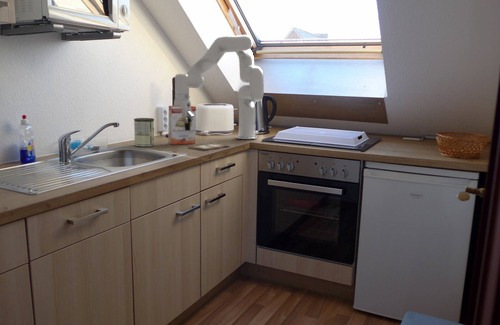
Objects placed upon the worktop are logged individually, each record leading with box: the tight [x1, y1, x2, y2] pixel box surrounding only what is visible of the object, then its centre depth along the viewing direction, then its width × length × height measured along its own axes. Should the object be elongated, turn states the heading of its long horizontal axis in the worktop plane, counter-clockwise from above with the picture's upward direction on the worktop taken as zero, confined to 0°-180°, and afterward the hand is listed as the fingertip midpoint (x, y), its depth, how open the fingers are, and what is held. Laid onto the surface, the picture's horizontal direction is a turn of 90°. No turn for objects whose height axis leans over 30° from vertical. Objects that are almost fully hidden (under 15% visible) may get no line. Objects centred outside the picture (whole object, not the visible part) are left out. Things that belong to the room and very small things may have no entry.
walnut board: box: [187, 143, 230, 152], centre depth 236 cm, size 19×12×1 cm, turn 143°
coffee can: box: [133, 117, 155, 147], centre depth 238 cm, size 10×10×14 cm
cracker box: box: [167, 105, 197, 146], centre depth 246 cm, size 14×6×21 cm, turn 118°
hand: (182, 129), depth 246 cm, fingers closed on cracker box, 8 cm apart
